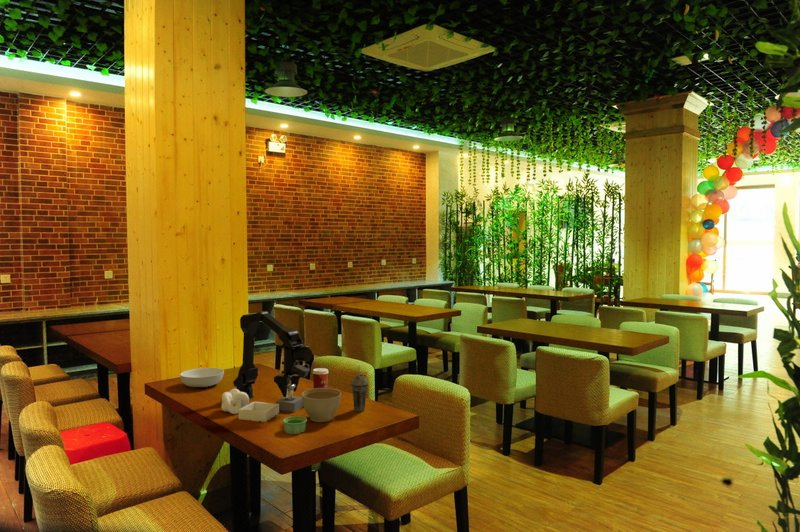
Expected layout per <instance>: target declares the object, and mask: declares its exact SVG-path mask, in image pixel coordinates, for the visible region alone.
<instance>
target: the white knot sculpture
mask: <svg viewBox="0 0 800 532" xmlns="http://www.w3.org/2000/svg"><path fill="white" fill-rule="evenodd" d="M221 401H222V402H221V410H222V411H223V412H228V413H230V414H232V415H237V414H239V409H241V408H243V407H245V406H246V405H248V404H250V399H249V397H248V395H247V394H246V393H244V392H240V391H239V390H238V389H237V388H232V389H230V390H228V391H225V392H223V393H222V395H221Z"/></svg>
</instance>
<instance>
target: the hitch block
mask: <svg viewBox="0 0 800 532" xmlns="http://www.w3.org/2000/svg"><path fill="white" fill-rule="evenodd" d="M275 404H279V410H282V411H281V412H288V411H291V412H290V413H296V412H298V411H299V410H300V409H302V408H304V406H303V399H302V396H294V395H293V401H288V400H286V397H283V396H282V397H281V398H278V399H277V400H275ZM301 407H302V408H301ZM298 409H299V410H298ZM295 411H296V412H295Z"/></svg>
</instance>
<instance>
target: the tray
mask: <svg viewBox="0 0 800 532" xmlns="http://www.w3.org/2000/svg"><path fill="white" fill-rule="evenodd" d="M279 414H280V411H279V404H276V403H272V402H271V403H270V402H262V401H252V402H249V403H248V405H246V406H245V407H243V408H241V409H239V413H238V420H241V421H242V420H243V421H244V420H245V421H250V420H251V422H259V421H261V422H260V423H266V422H268V421H269V420H271V419H273V418H274V417H275V415H276V416H278V415H279ZM267 420H268V421H267Z"/></svg>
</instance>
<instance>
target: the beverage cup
mask: <svg viewBox="0 0 800 532" xmlns="http://www.w3.org/2000/svg"><path fill="white" fill-rule="evenodd" d="M357 367H358V368H357V369H358V374H357V375H355V376H354V377H353V379H352V381H351V389H352V398H353V399H352V402H353V410H354V412H356V411H359V412H358V413H361V412H360V411H363V412H365V408H366V401H367V400H366V398H367V389H368V387H369V386H368V385H369V382H368V380H367V378H366V376H365V375H362V374H360V373H361V371H360V365H358V366H357Z"/></svg>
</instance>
